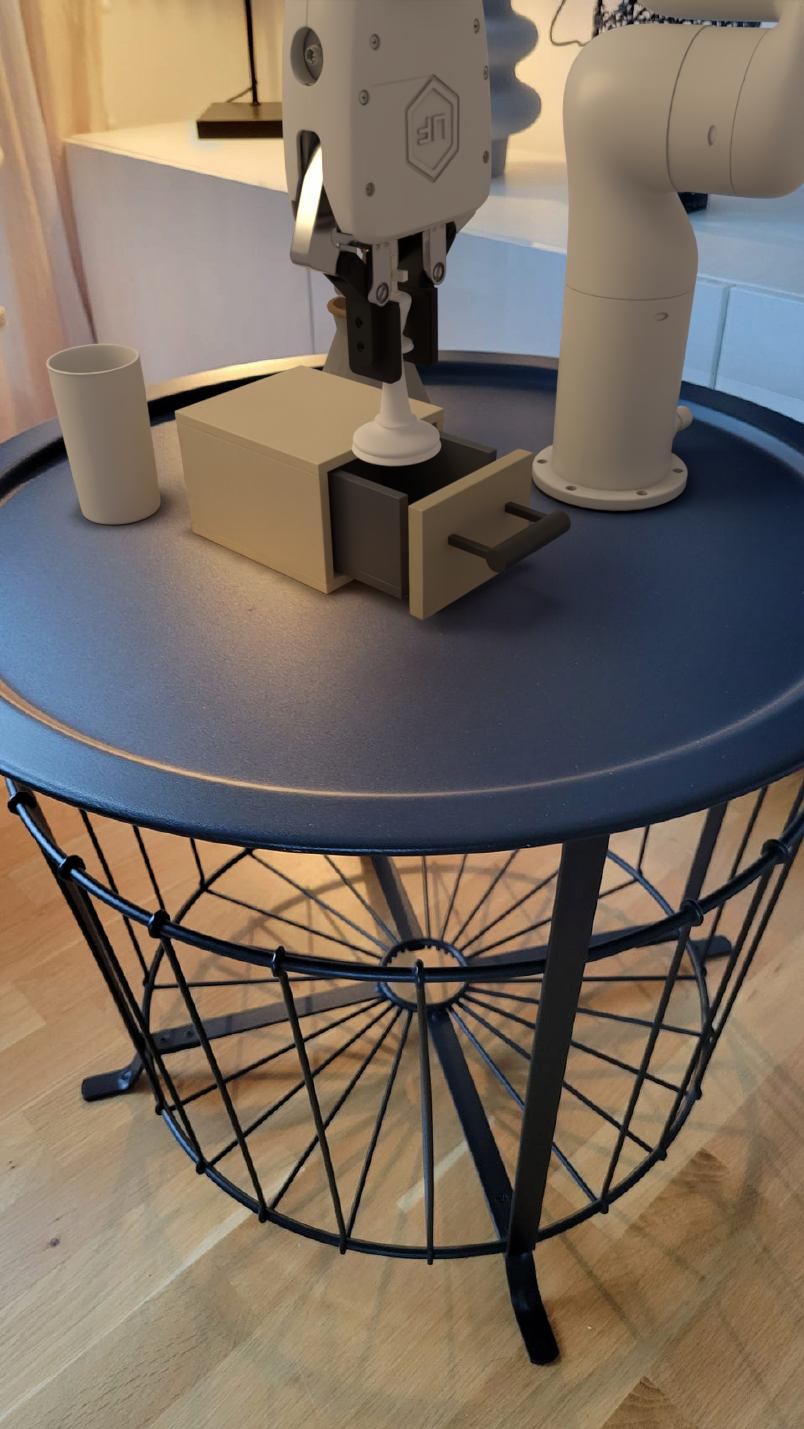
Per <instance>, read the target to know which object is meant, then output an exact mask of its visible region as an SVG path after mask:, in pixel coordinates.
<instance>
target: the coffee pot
mask: <svg viewBox="0 0 804 1429" xmlns="http://www.w3.org/2000/svg"><path fill="white" fill-rule="evenodd" d="M358 249H359V250H360V252H361V254H362V257H361V259H362V260H363V262H364V263H365V264H366V253H365V250H366V249H361V248H358ZM326 308H327V310H328V312H329V313H330V314H331V315H332V317H333V320H334V323H335V327H336V330H335V334H334V336H333V339H332V341H331V344H330V347H329V349H328V353H327V357H326V359H325V362H324V365H323V368H322V370H321V371H323V372H326V373H329V374H332V375H336V376H339V377H342V378H346V379H349V380H352V381H355V382H359V383H362V384H365V385H369V386H372V387H375V388H378V389H382V388H383V382H381V381H378V380H375V379H371V378H368V377H364V376H361V375H358V374H355V373H353V372H352V371H351V369H350V367H349V355H348V338H347V321H346V304H345V298H344V297H340V296H338V295H337V296H335V297H333V298H330V300H328V302H327V304H326ZM403 363H404V372H405V379H406V386H407V392H408V398H411V399H415V400H418V401H421V402H425V403H428V404H431V405H432V403H431V401H430V398H429V395H428V393H427V391H426V388H425V386H424V383H423V382H422V379H421V377H420V374H419V372H418V370H417V368H416V364H413V363H409V362H406V361H403Z"/></svg>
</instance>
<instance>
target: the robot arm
mask: <svg viewBox="0 0 804 1429" xmlns="http://www.w3.org/2000/svg"><path fill="white" fill-rule="evenodd" d="M637 1H638V2H639V4H640V5H642V6H643V7H644V8H645V9H647V10H648V11H649V12H652V13H655V14H657V15H660V16H663V17H668V18H673V19H681V20H693V21H709V22H710V21H711V22H712V21H713V22H750V23H751V22H753V23H754V22H755V23H758V22H760V23H773V24H775V23H777V24H776V25H774V26H773V27H746V26H745V27H744V26H717V25H716V26H714V25H712V24H691V23H657V22H656V23H655V22H653V23H652V22H649V23H648V22H647V23H637V24H636V23H633V24H626V25H621V26H617V27H613V28H611V29H608V30H606V31H604V32H602V33H600V34H597V35H596V36H595V37H593V38H592V39H591V40H589V41H588V42H587V43H586V44H585V45H584V46H583V47H582V48H581V49H580V51H579V52H578V54H576V57H575V58H574V60H573V62H572V64H571V66H570V69H569V71H568V74H567V76H566V80H565V84H564V90H563V95H562V96H563V97H562V132H563V133H562V134H563V143H564V153H565V161H566V174H567V175H566V176H567V194H568V195H567V197H568V199H567V200H568V214H567V218H568V219H567V225H568V226H567V244H566V261H565V263H566V264H565V273H564V274H565V276H564V288H563V299H562V313H561V326H560V327H561V328H560V340H559V352H558V353H559V355H558V365H557V366H558V368H557V380H556V381H557V382H556V394H555V410H554V422H553V423H554V424H553V436H552V444H551V445H548V446H547V447H545V448H543V449H542V450H540V451H539V452H538V453H537V454H536V455H535V456H534V457H533V462H532V478H531V479H532V480H533V483H534V484H535V485H536V487H538V489H539V490H540V491H542V492H543V493H545V495H548V496H549V497H551V498H553V499H554V500H556V501H560V502H562V503H565V504H568V505H571V506H576V507H579V508H584V509H591V510H596V511H597V510H598V511H610V512H619V511H620V512H621V511H624V512H625V511H636V510H644V509H649V508H650V509H651V508H655V507H657V506H660V505H663V504H667V503H668V502H670V501H672V500H674V499H676V498H677V497H679V495H681V494H682V493H683V491H684V490H685V489H686V486H687V480H688V473H689V472H688V468H687V466H686V464H685V462H684V461H683V460H682V459H681V458H680V457H679V456H677V455H676V454H675V453H673V452H672V449H673V443H674V442H673V441H674V438H675V436H676V435H677V434H678V433H679V432H681V431H683V430H685V429H686V428H688V427H690V426H691V424H692V423H693V419H694V417H693V413H692V410H691V408H689V407H688V406H685V405H679V400H680V393H681V386H682V379H683V373H684V367H685V359H686V352H687V346H688V339H689V331H690V326H691V319H692V311H693V304H694V299H695V298H694V296H695V291H696V285H697V277H698V270H699V269H698V268H699V250H698V243H697V238H696V233H695V231H694V227H693V226H692V223H691V221H690V218H689V215H688V213H687V211H686V209H685V207H684V205H683V202H682V201H681V199H680V196H679V194H678V193H684V192H687V193H697V194H706V195H716V196H726V197H736V198H744V199H745V198H746V199H757V200H758V199H760V200H761V199H763V200H769V199H770V200H771V199H778V198H782V197H786V196H788V195H790V194H792V193H795V191H797V190H798V189H800V188H801V186H802V185H804V0H637ZM484 11H485V10H484V3H483V0H284V10H283V27H282V28H283V29H282V46H281V47H282V48H281V49H282V50H281V52H282V53H281V112H282V113H281V114H282V140H283V156H284V171H285V179H286V180H285V181H286V187H287V195H288V202H289V207H290V211H291V215H292V218H293V221H294V228H293V233H292V240H291V244H290V249H289V258H290V261H291V263H292V264H294V265H295V266H298V267H302V268H305V269H308V270H311V271H315V272H318V273H321V274H322V275H323V276H324V277H325V278H326V279H327V280H328V281H330V283H331V285H333V289H334V292H335V294H336V295H337V296H340V297H344V298H345V304H346V321H347V338H348V355H349V367H350V369H351V371H352V372H353V373H355V374H358V375H361V376H364V377H368V378H371V379H375V380H378V381H381V382H385V383H388V384H393V383H395V382H397V381H399V380H400V379H401V376H402V350H401V314H400V306H399V302H395V301H391V300H389V299H390V296H391V256H390V255H393V256H396V258H397V269H399V270H406V271H408V280H407V281H405V282H399V281H397V290H399V291H402V292H405V293H407V294H409V295H410V296H411V299H412V300H411V305H410V309H409V311H408V315H407V318H406V323H405V327H404V330H403V333H402V335H404V337H408V338H410V339H411V340H412V343H413V345H414V348H413V349H412V350H411V351H409V352H407V353H403V361H406V362H409V363H413V364H414V365H417V366H421V367H424V368H430V367H433V366H436V364H437V363H438V362H439V288H438V287H436V286H439V285H442V283H443V282H444V281H445V278H446V275H447V256H448V254H449V252H450V250H451V248H452V246H453V244H454V241H455V239H456V237H457V234H459V232H460V231H461V230H462V229H463V228H464V227H465V226H466V225H467V224H468V223H469V222H470V221H471V220H472V219H473V217H474V216H475V215H476V212H477V211H478V210H480V208H481V207H483V206H484V204H485V203H486V201H487V200H488V198H489V195H490V192H491V184H492V158H493V157H492V103H491V82H490V81H491V80H490V78H491V77H490V60H489V49H488V39H487V36H488V35H487V28H486V19H485V12H484ZM359 248H361V249H366V250H365V253H366V264H365V263H364V262H363V260H362V257H360V256H359V255H358V249H359Z"/></svg>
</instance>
